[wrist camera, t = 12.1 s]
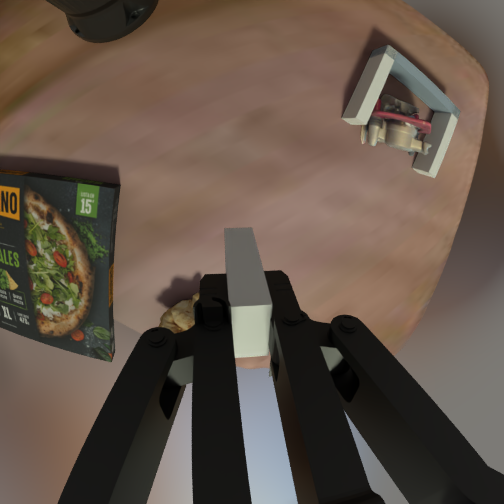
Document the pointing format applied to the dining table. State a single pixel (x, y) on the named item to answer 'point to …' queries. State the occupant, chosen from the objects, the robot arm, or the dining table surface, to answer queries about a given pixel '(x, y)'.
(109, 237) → the pizza box
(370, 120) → the brake caliper
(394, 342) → the dining table surface
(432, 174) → the cradle
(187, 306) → the ginger root
